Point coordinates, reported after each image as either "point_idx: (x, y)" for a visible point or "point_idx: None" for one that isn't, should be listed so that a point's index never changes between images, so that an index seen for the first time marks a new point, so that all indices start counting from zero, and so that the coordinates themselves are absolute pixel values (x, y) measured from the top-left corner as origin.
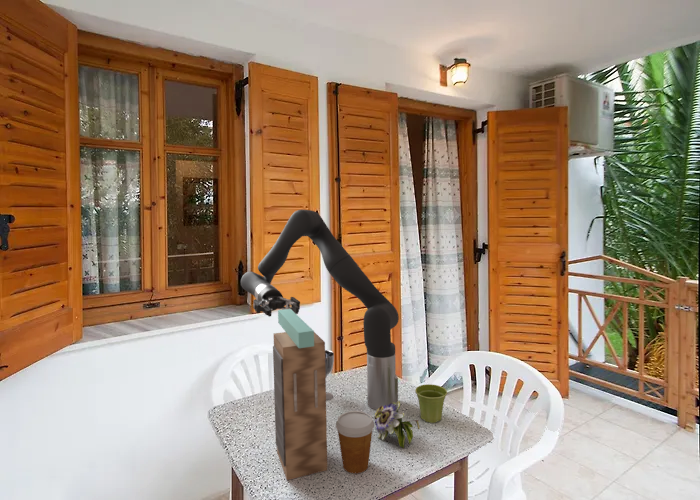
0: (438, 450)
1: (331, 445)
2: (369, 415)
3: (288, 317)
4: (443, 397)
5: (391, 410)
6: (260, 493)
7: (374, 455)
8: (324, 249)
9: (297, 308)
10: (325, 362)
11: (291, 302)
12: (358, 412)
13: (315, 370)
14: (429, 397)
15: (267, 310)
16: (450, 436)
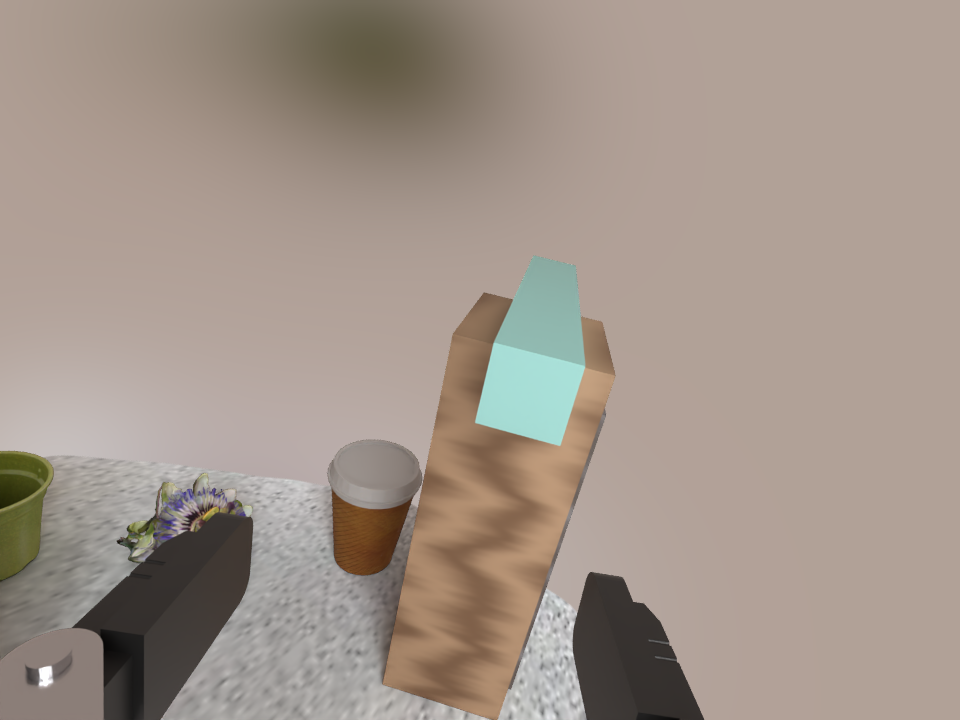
0: (190, 486)
1: (345, 646)
2: (338, 453)
3: (563, 303)
4: (12, 459)
5: (197, 504)
6: (571, 607)
7: (301, 551)
8: None
9: (233, 515)
10: None
11: (56, 704)
12: (343, 475)
13: None
14: (50, 469)
15: (639, 610)
16: (104, 492)
